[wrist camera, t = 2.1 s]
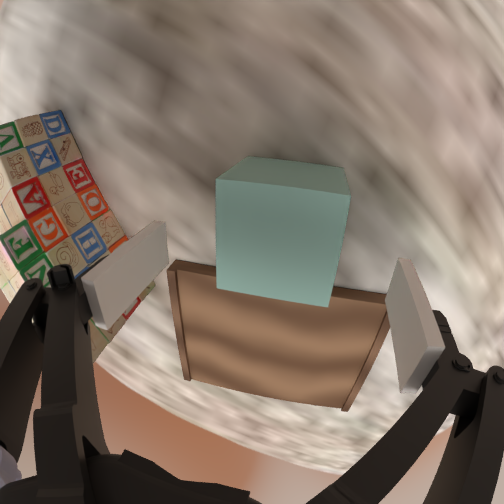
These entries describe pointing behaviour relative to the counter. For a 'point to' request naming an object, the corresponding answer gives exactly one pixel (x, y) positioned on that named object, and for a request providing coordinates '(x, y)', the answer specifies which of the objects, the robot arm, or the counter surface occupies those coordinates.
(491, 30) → the counter surface
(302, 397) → the board
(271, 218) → the cube
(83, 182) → the stack of blocks
